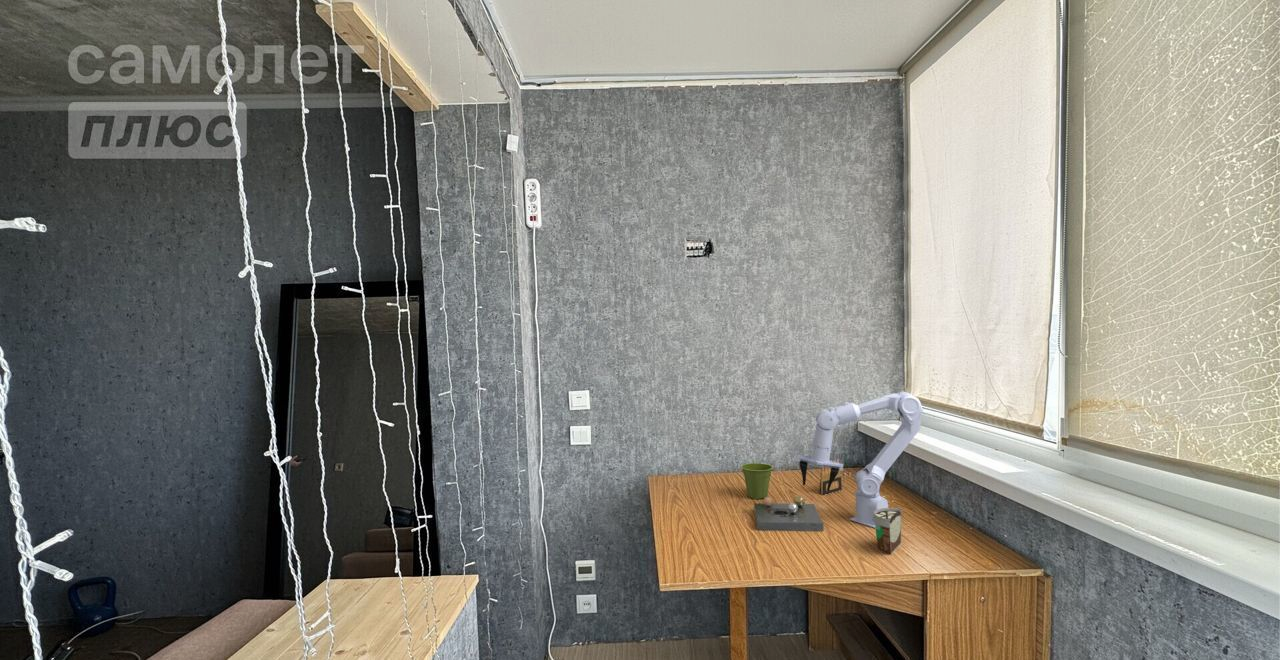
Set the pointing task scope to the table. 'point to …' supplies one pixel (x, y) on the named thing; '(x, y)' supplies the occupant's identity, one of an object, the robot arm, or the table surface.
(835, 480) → the ammunition clip
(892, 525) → the food container
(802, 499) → the brass ball
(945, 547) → the table surface
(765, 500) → the terracotta ball
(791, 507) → the steel ball
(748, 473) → the plant pot
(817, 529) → the hole plate
